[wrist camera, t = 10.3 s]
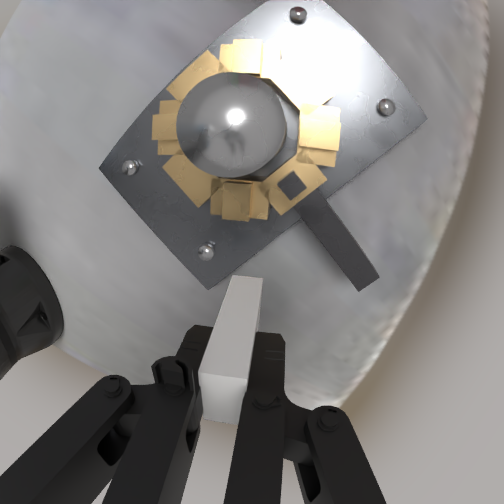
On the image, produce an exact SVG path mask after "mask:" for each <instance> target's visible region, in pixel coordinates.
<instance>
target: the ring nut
mask: <svg viewBox="0 0 504 504" xmlns="http://www.w3.org/2000/svg"><path fill="white" fill-rule="evenodd" d="M224 72H240V73H246V74H249V75H252V76H254V77H256V78H258V79H260V80H262V81H263V82H265V83H266V84H267V85H268V86H273V87H274V88H275V89H276V90H277V91H278V92H279V93H280V94H281V95H282V96H283V98H284V99H285V100H286V101H287V102H288V103H289V104H290V105H291V106H292V107H293V108H294V110H295V111H296V112H297V113H298V114H299V126H298V138H297V150H296V153H295V154H294V155H293V156H291V157H290V158H289V159H288V160H286V161H285V162H284V163H283V164H281V165H280V166H279V167H278V168H277V169H275V170H274V171H273V172H272V173H270V174H269V175H268V176H267V177H261V176H249V175H243V176H240V177H218V176H214V175H211V174H208V173H206V172H204V171H202V170H200V169H199V168H197V167H196V166H195V165H194V164H193V163H191V162H190V161H189V159H188V158H187V157H186V156H185V154H184V152H183V151H182V149H181V147H180V144H179V141H178V138H177V132H176V121H177V115H178V111H179V108H180V105H181V103H182V101H183V100H184V98H185V96H186V95H187V94H188V92H189V91H190V90H191V89H192V88H193V87H194V86H195V85H197V84H198V83H199V82H201V81H202V80H204V79H206V78H208V77H210V76H212V75H215V74H219V73H224ZM166 89H167V90H168V91H169V92H170V93H171V94H172V95H173V96H174V97H175V99H176V100H165V101H160V110H159V114H156V115H153V120H152V140H158V155H173V156H172V157H171V158H170V159H169V160H168V162H167V163H166V164H165V165H164V166H163V167H162V168H163V169H164V170H165V171H166V172H167V173H168V174H169V176H170V177H171V178H172V179H173V180H174V181H175V182H176V183H177V185H178V186H179V187H180V188H181V189H182V190H183V191H184V193H185V194H186V195H187V196H188V197H189V198H190V199H191V200H192V202H193V203H194V204H195V205H196V206H197V207H198V208H199V207H200V206H201V205H203V204H204V203H206V202H207V201H208V200H210V199H211V208H210V214H214V215H222V219H226V220H236V221H246V222H249V220H250V218H255V219H264V220H267V219H268V216H269V213H270V208H271V205H272V206H273V207H274V208H275V209H276V211H277V212H278V213H279V214H280V215H283V214H284V213H285V212H287V211H288V210H289V209H290V208H292V207H293V208H294V209H295V210H296V212H297V213H298V214H299V215H300V216H301V218H302V219H303V220H304V221H305V223H306V224H307V225H308V226H309V228H310V229H311V230H312V231H313V233H314V234H315V235H316V236H317V238H318V239H319V240H320V242H321V243H322V244H323V245H324V247H325V248H326V249H327V251H328V252H329V253H330V254H331V256H332V257H333V258H334V260H335V261H336V262H337V264H338V265H339V266H340V268H341V269H342V270H343V272H344V273H345V274H346V276H347V277H348V278H349V280H350V281H351V282H352V284H353V285H354V286H355V288H356V289H357V290H358V292H359V291H361V290H362V289H363V288H365V287H366V286H368V285H369V284H371V283H372V282H374V281H375V280H377V279H378V278H379V275H378V273H377V272H376V270H375V268H374V266H373V265H372V263H371V262H370V260H369V259H368V258H367V256H366V255H365V253H364V252H363V250H362V249H361V247H360V246H359V245H358V243H357V242H356V240H355V239H354V237H353V236H352V235H351V233H350V232H349V230H348V229H347V228H346V226H345V225H344V224H343V222H342V221H341V220H340V218H339V217H338V215H337V214H336V213H335V211H334V210H333V209H332V208H331V206H330V205H329V204H328V202H327V201H326V200H325V198H324V197H323V196H322V195H321V193H320V192H319V191H318V189H317V187H319V186H320V185H321V184H323V183H324V182H325V181H327V178H326V177H325V176H324V175H323V173H322V172H321V171H320V170H319V168H318V167H317V166H316V165H323V166H330V167H335V160H336V151H338V150H339V140H340V129H341V123H339V118H340V108H335V107H329V106H323V105H325V104H326V103H327V102H329V101H330V100H331V99H332V98H333V96H334V95H335V94H334V92H333V91H332V90H331V89H330V88H329V87H328V86H327V85H326V83H325V82H324V81H323V80H322V79H321V78H320V77H319V76H318V75H317V74H316V73H315V72H314V70H313V69H312V68H311V67H310V66H309V65H308V64H307V63H306V62H305V61H304V60H303V59H302V58H301V57H300V56H299V55H298V54H297V53H296V52H295V51H293V52H292V53H291V54H289V55H288V56H286V57H285V58H284V59H282V52H281V45H268V44H263V42H262V40H256V39H234V40H233V44H221V47H220V57H219V60H218V59H217V58H216V57H215V56H214V55H213V54H211V53H210V52H209V51H208V50H206V51H205V52H204V53H203V54H202V55H201V56H200V57H198V58H197V59H196V60H195V61H194V62H193V63H192V64H191V65H190V66H189V67H187V68H186V69H185V70H184V71H183V72H182V73H181V74H180V75H179V76H178V77H177V78H176V79H175V80H174V81H173V82H172V83H171V84H170V85H169V86H168V87H167V88H166ZM315 164H316V165H315Z"/></svg>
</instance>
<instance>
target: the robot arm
mask: <svg viewBox="0 0 504 504" xmlns="http://www.w3.org/2000/svg"><path fill="white" fill-rule="evenodd" d="M262 285H263V278H258V277H247V276H237V275H232V278H231V281H230V283H229V286H228V289H227V292H226V295H225V297H224V300H223V303H222V306H221V308H220V311H219V314H218V317H217V320H216V322H215V325H214V327H207V326H200V325H194V326H193V327H192V328H191V329H189V330H188V331H187V333H186V335H185V337H184V339H183V342H182V343H181V345H180V348H179V350H178V352H177V354H176V356H168V357H163V358H161V359H159V360H157V361H155V363H154V364H153V365H152V366H151V368H152V372H153V376H154V380H155V383H154V384H149V385H130V382H129V381H128V380H127V379H126V378H125V377H122V376H119V375H109V376H106V377H103V378H102V379H101V380H99V381H98V382H97V383H96V384H95V385H94V386H93V387H92V388H91V389H89V391H87V392H86V393H85V394H84V395H83V396H82V397H81V398H80V399H79V400H78V401H77V402H76V403H75V404H74V405H73V406H72V407H71V408H70V409H69V410H68V411H67V412H66V413H64V414H63V415H62V416H61V417H60V418H59V419H58V420H57V421H56V422H55V423H54V424H53V425H52V426H51V427H50V428H49V429H48V430H47V431H46V432H45V433H44V434H43V435H42V436H41V437H40V438H39V439H38V440H37V441H36V442H35V443H34V444H33V445H32V446H31V447H29V448H28V449H27V450H26V451H25V452H24V453H23V454H22V455H21V456H20V457H19V458H18V460H16V461H15V462H14V463H13V464H12V465H11V466H10V467H9V468H8V469H7V470H6V471H5V472H4V473H3V474H2V475H1V476H0V504H91V503H92V502H93V501H94V500H95V499H96V497H97V496H98V495H99V494H100V493H101V491H102V490H103V489H104V488H105V486H106V485H107V484H108V483H109V482H110V480H111V479H112V481H111V483H110V486H109V488H108V490H107V493H106V495H105V497H104V500H103V502H102V504H181V500H182V496H183V492H184V489H185V485H186V481H187V478H188V474H189V471H190V467H191V463H192V460H193V456H194V453H195V449H196V445H197V441H198V438H199V434H200V420H201V417H202V413H203V419H205V420H211V421H216V422H222V423H229V424H237V425H238V429H237V434H236V440H235V446H234V451H233V456H232V462H231V467H230V472H229V478H228V483H227V489H226V493H225V499H224V504H280V498H281V484H282V470H283V458H284V459H287V460H290V461H293V463H294V466H295V470H296V474H297V477H298V481H299V485H300V489H301V492H302V496H303V500H304V503H305V504H386V501H385V499H384V497H383V494H382V492H381V490H380V487H379V485H378V483H377V481H376V478H375V476H374V474H373V471H372V469H371V467H370V465H369V462H368V460H367V458H366V456H365V453H364V451H363V449H362V446H361V444H360V442H359V440H358V438H357V435H356V433H355V431H354V429H353V426H352V425H351V422H350V420H349V418H348V416H347V415H346V414H345V412H344V411H342V410H341V409H339V408H337V407H333V406H321V407H318V408H315V409H314V410H313V411H311V410H308V409H305V408H302V407H299V406H297V405H295V404H293V403H292V402H291V401H290V400H289V399H288V398H287V396H286V394H285V391H284V376H285V341H284V340H283V338H282V336H281V334H275V333H265V332H258V328H259V319H260V308H261V296H262ZM62 330H63V318H62V313H61V309H60V306H59V303H58V300H57V298H56V295H55V293H54V291H53V289H52V287H51V285H50V283H49V281H48V280H47V278H46V276H45V275H44V273H43V272H42V270H41V269H40V267H39V266H38V265H37V263H36V262H35V261H34V260H33V259H32V258H31V257H30V256H29V255H28V254H27V253H26V252H24V251H23V250H22V249H20V248H18V247H15V246H9V247H7V248H5V249H3V250H1V251H0V380H1V379H2V378H3V377H4V375H5V374H6V373H7V372H8V371H9V370H10V369H11V368H12V366H13V365H14V364H15V363H16V362H17V361H18V360H20V359H21V358H23V357H26V356H28V355H30V354H33V353H35V352H38V351H40V350H42V349H44V348H47V347H49V346H50V345H52V344H53V343H54V342H55V341H56V340H57V339H58V338H59V337H60V335H61V333H62Z"/></svg>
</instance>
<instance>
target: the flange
mask: <svg viewBox="0 0 504 504" xmlns="http://www.w3.org/2000/svg"><path fill="white" fill-rule="evenodd" d="M234 39H256V40H262V42H263V44H268V45H281V52H282V59H284V58H285V57H286V56H288V55H289V54H291V53H292V52H293V51H295V52H296V53H297V54H298V55H299V56H300V57H301V58H302V59H303V60H304V61H305V62H306V63H307V64H308V65H309V66H310V67H311V68H312V69H313V70H314V72H315V73H316V74H317V75H318V76H319V77H320V78H321V79H322V80H323V81H324V82H325V83H326V85H327V86H328V87H329V88H330V89H331V90H332V91H333V92H334V94H335V95H334V96H333V98H332V99H331V100H330V101H329V102H327V103H326V104H325V105H323V106H329V107H335V108H340V118H339V123H341V129H340V140H339V150H338V151H336V160H335V167H330V166H323V165H316V164H315V165H316V166H317V167H318V168H319V170H320V171H321V172H322V173H323V175H324V176H325V177H326V178H327V181H325V182H324V183H323V184H321V185H320V186H319V187H317V189H318V191H319V192H320V193H321V195H322V196H323V197H324V198H325V199H326V198H328V197H329V196H330V195H331V194H333V193H334V192H335V191H337V190H338V189H339V188H340V187H342V186H343V185H344V184H346V183H347V182H348V181H349V180H351V179H352V178H353V177H355V176H356V175H357V174H358V173H360V172H361V171H362V170H363V169H365V168H366V167H367V166H369V165H370V164H371V163H372V162H374V161H375V160H376V159H378V158H379V157H380V156H381V155H383V154H384V153H385V152H386V151H388V150H389V149H390V148H392V147H393V146H394V145H395V144H397V143H398V142H399V141H401V140H402V139H403V138H404V137H406V136H407V135H408V134H409V133H411V132H412V131H413V130H415V129H416V128H417V127H418V126H420V125H421V124H422V123H423V122H425V121H426V120H427V119H428V118H427V116H426V115H425V113H424V112H423V110H422V109H421V108H420V106H419V105H418V103H417V102H416V100H415V99H414V98H413V96H412V95H411V94H410V92H409V91H408V89H407V88H406V87H405V86H404V84H403V83H402V82H401V80H400V79H399V78H398V77H397V75H396V74H395V73H394V72H393V70H392V69H391V68H390V67H389V66H388V64H387V63H386V62H385V61H384V60H383V59H382V58H381V56H380V55H379V54H378V53H377V52H376V51H375V50H374V49H373V48H372V46H371V45H370V44H369V43H368V42H367V41H366V40H365V39H364V38H363V37H362V36H361V35H360V34H359V33H358V32H357V31H356V30H355V29H354V28H353V27H352V26H351V25H350V24H349V23H348V22H347V21H346V20H344V19H343V18H342V17H341V16H340V15H339V14H338V13H337V12H336V11H335V10H333V9H332V8H331V7H330V6H329V5H328V4H326V3H325V2H324V1H323V0H269V1H267V2H265V3H264V4H263V5H261V6H260V7H258V8H257V9H255V10H254V11H252V12H251V13H250V14H248V15H247V16H245V17H244V18H243V19H241V20H240V21H239V22H237V23H236V24H235V25H233V26H232V27H231V28H230V29H228V30H227V31H226V32H225V33H223V34H222V35H221V36H220V37H218V38H217V39H216V40H215V41H214V42H212V43H211V44H210V45H209V46H208V47H207V48H205V49H204V50H203V51H202V52H201V53H200V54H199V55H198V56H197V57H195V58H194V59H193V60H192V61H191V62H190V63H189V64H188V65H187V66H186V67H185V68H184V69H183V70H182V71H181V72H180V73H179V74H177V75H176V76H175V77H174V78H173V79H172V80H171V82H170V83H169V84H168V85H167V86H166V87H165V88H164V89H163V90H162V91H161V92H160V93H159V94H158V95H157V96H156V97H155V98H154V99H153V101H152V102H151V103H150V104H149V105H148V106H147V107H146V108H145V110H144V111H143V112H142V113H141V114H140V115H139V116H138V118H137V119H136V120H135V121H134V122H133V124H132V125H131V126H130V127H129V129H128V130H127V131H126V132H125V134H124V135H123V136H122V137H121V139H120V140H119V141H118V142H117V144H116V145H115V146H114V148H113V149H112V150H111V152H110V153H109V154H108V156H107V157H106V159H105V160H104V161H103V163H102V164H101V166H100V167H99V169H100V170H101V172H102V173H103V174H104V175H105V177H106V178H107V179H108V180H109V181H110V183H111V184H112V185H113V186H114V187H115V189H116V190H117V191H118V192H119V193H120V194H121V196H122V197H123V198H124V199H125V200H126V201H127V203H128V204H129V205H130V206H131V207H132V208H133V210H134V211H135V212H136V213H137V214H138V215H139V216H140V218H141V219H142V220H143V221H144V222H145V223H146V224H147V225H148V227H149V228H150V229H151V230H152V231H153V232H154V233H155V234H156V235H157V237H158V238H159V239H160V240H161V241H162V242H163V243H164V244H165V245H166V246H167V248H168V249H169V250H170V251H171V252H172V253H173V254H174V255H175V256H176V257H177V258H178V259H179V260H180V261H181V263H182V264H183V265H184V266H185V267H186V268H187V269H188V270H189V271H190V272H191V273H192V274H193V275H194V276H195V277H196V278H197V279H198V280H199V281H200V282H201V283H202V284H203V285H204V286H205V288H206V289H207V290H209V289H210V288H212V287H213V286H214V285H215V284H217V283H218V282H219V281H221V280H222V279H223V278H225V277H226V276H227V275H228V274H230V273H231V272H232V271H234V270H235V269H236V268H237V267H239V266H240V265H241V264H243V263H244V262H245V261H246V260H248V259H249V258H250V257H252V256H253V255H254V254H256V253H257V252H258V251H259V250H261V249H262V248H263V247H265V246H266V245H267V244H268V243H270V242H271V241H272V240H274V239H275V238H276V237H277V236H279V235H280V234H281V233H283V232H284V231H285V230H286V229H288V228H289V227H290V226H292V225H293V224H294V223H295V222H297V221H298V220H299V219H301V216H300V215H299V214H298V213H297V212H296V210H295V209H294V208H293V207H292V208H290V209H289V210H288V211H287V212H285V213H284V214H283V215H280V214H279V213H278V212H277V211H276V209H275V208H274V207H273V206H272V205H271V208H270V213H269V216H268V219H267V220H264V219H255V218H250V220H249V222H246V221H236V220H226V219H222V215H214V214H210V208H211V199H210V200H208V201H207V202H206V203H204V204H203V205H201V206H200V207H199V208H198V207H197V206H196V205H195V204H194V203H193V202H192V200H191V199H190V198H189V197H188V196H187V195H186V194H185V193H184V191H183V190H182V189H181V188H180V187H179V186H178V185H177V183H176V182H175V181H174V180H173V179H172V178H171V177H170V176H169V174H168V173H167V172H166V171H165V170H164V169H163V168H162V167H163V166H164V165H165V164H166V163H167V162H168V160H169V159H170V158H171V157H172V156H173V155H158V140H152V120H153V115H156V114H159V110H160V101H165V100H176V99H175V97H174V96H173V95H172V94H171V93H170V92H169V91H168V90H167V89H166V88H167V87H168V86H169V85H170V84H171V83H172V82H173V81H174V80H175V79H176V78H177V77H178V76H179V75H180V74H181V73H182V72H183V71H184V70H185V69H186V68H187V67H189V66H190V65H191V64H192V63H193V62H194V61H195V60H196V59H197V58H198V57H200V56H201V55H202V54H203V53H204V52H205V51H206V50H208V51H209V52H210V53H211V54H213V55H214V56H215V57H216V58H217V59H218V60H219V57H220V47H221V44H233V40H234ZM298 126H299V114H298V113H297V112H296V111H295V110H294V108H293V107H292V106H291V105H290V104H289V103H288V102H287V101H286V100H285V99H284V98H283V96H282V95H281V94H280V93H279V92H278V91H277V90H276V89H275V88H274V87H273V86H268V85H267V84H266V83H265V82H263V81H262V80H260V79H258V78H256V77H254V76H252V75H249V74H246V73H240V72H224V73H219V74H215V75H212V76H210V77H208V78H206V79H204V80H202V81H201V82H199V83H198V84H197V85H195V86H194V87H193V88H192V89H191V90H190V91H189V92H188V94H187V95H186V96H185V98H184V100H183V101H182V103H181V105H180V108H179V111H178V115H177V121H176V132H177V138H178V141H179V144H180V147H181V149H182V151H183V152H184V154H185V156H186V157H187V158H188V159H189V161H190V162H191V163H193V164H194V165H195V166H196V167H197V168H199V169H200V170H202V171H204V172H206V173H208V174H211V175H214V176H218V177H240V176H243V175H249V176H261V177H267V176H268V175H269V174H270V173H272V172H273V171H274V170H275V169H277V168H278V167H279V166H280V165H281V164H283V163H284V162H285V161H286V160H288V159H289V158H290V157H291V156H293V155H294V154H295V153H296V150H297V138H298Z"/></svg>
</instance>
